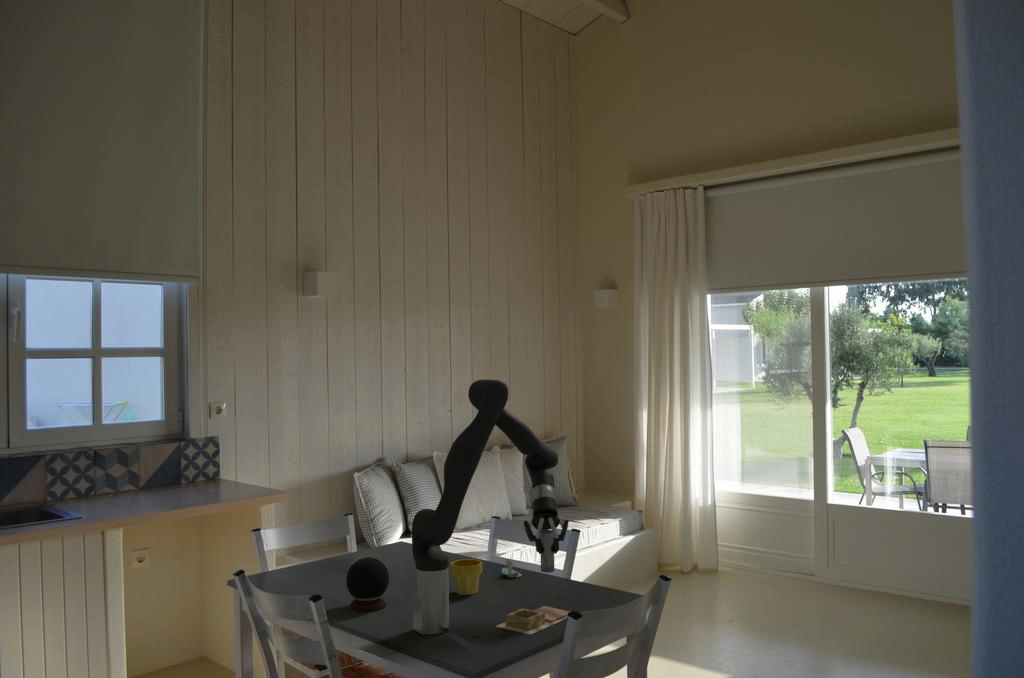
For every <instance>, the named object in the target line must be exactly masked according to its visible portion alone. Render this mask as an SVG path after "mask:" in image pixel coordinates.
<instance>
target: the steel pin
mask: <svg viewBox="0 0 1024 678" xmlns="http://www.w3.org/2000/svg"><path fill="white" fill-rule="evenodd" d="M540 540H541V554H540V572H542V573H553V572H555V554H554V529H553V528H541V529H540Z"/></svg>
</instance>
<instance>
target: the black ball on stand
mask: <svg viewBox="0 0 1024 678" xmlns="http://www.w3.org/2000/svg"><path fill="white" fill-rule="evenodd" d="M345 576H346V579H345V583H346V588H347V590H348V592H349V594H350V595H351V596H352V597H353V598H354V599H353V600H352V601H351V602H350V603H349V607H348V608H350V609H351V610H350V609H349V610H350V611H352V610H353V611H352V612H355V611H357V612H356V613H373V611H374V612H378V611H381V610H384V609H386V607H387V602H386V601H385V599H383V598H382V596H384V594H385V593H386V591H387V589H388V587H389V584H390V573H389V569H388V568H387V565H385V564H384V562H382V561H381V560H379V558H378V559H377V558H376V557H369V556H368V557H363V558H362V557H361V558H359V559H358V560H356V561H354V563H352V565H350V567H349V569H348V570H347V573H346V575H345Z"/></svg>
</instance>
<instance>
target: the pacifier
mask: <svg viewBox="0 0 1024 678" xmlns="http://www.w3.org/2000/svg"><path fill="white" fill-rule="evenodd" d="M505 563H506V566H507V567H503V568H502V569H501V573H502V574H503V575H504V576H506V577H507V578H520V577H522V574H521V573H520V572H519V571H517V570H515V569H513V567H514V565H513V561H512V560H511V559H510V558H507V560H506V562H505Z"/></svg>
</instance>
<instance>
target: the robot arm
mask: <svg viewBox="0 0 1024 678" xmlns="http://www.w3.org/2000/svg"><path fill="white" fill-rule="evenodd" d="M467 396H468V400H469V402H470V404H471V405H472V406H473V408H475V409H476V410H477V413H476V415H475V417H474V419H473V420H472V421H471V422H470V424H468V426H467V427H466V428H465V429H464V430H463V431H462V432H461V433H460V434H459V435H458V436H457V437H456V438H455V440H454V441H453V443H452V445H451V447H450V448H449V451H448V454H447V456H446V457H445V461H444V463H443V464H444V465H443V490H442V491H443V492H442V495H441V498H440V500H439V503H438V504H437V506H436V509H432V508H423V509H421V510H418V511H417V512H416V514H415V515H414V517H413V519H412V523H411V546H412V548H411V549H412V558H413V560H414V562H415V594H413V597H412V611H413V612H412V613H413V614H412V616H413V617H412V625H413V626H412V628H413V630H414V631H416V632H417V633H419V634H421V636H424V635H425V636H426V635H438V634H443V633H445V632H448V631H449V629H447V628H448V627H449V626H450V600H449V598H450V596H449V593H450V590H449V589H450V588H449V586H450V585H449V582H450V581H449V579H450V577H449V575H450V574H449V568H450V567H449V566H450V564H449V563H450V562H449V558H448V556H447V554H446V553H445V552H444V551H443V549H442V548H441V546H442V545H445V544H446V543H448V542H449V541H450V539H451V537H452V536H453V534H454V531H455V528H456V525H457V523H458V519H459V516H460V512H461V508H462V505H463V502H464V500H465V497H466V494H467V491H468V489H469V486H470V484H471V482H472V479H473V478H474V475H475V472H476V470H477V468H478V465H479V463H480V461H481V458H482V456H483V452H484V450H485V448H486V446H487V444H488V441H489V439H490V436H491V434H492V432H493V430H494V427H495V426H496V427H497V428H498V429H499V430H500V431H501V433H503V434H504V435H505V436H506V437H507V438H508V439H509V441H510V442H511V443H512V445H513V446H514V447H516V449H517V450H518V451H519V452H520V453H521V454H522V455H524V456H525V455H526V457H525V459H524V464H525V467H526V469H527V471H528V474H529V477H530V481H531V492H532V493H531V504H532V507H531V508H532V518H531V520H529V521H527V520H523V529H524V531H525V533H526V536H527V538H528V540H529V542H534V543H535V550H536V551H535V552H536V553H538V555H541V540H540V529H541V528H553V529H554V555H556V554H557V553H558V552H560V551H559V550H560V543H559V542H563V541H565V538H566V534H567V532H568V529H569V520H568V519H565V520H562V519H560V517H559V514H558V500H557V494H556V488H555V487H556V486H555V478H554V475H553V474H552V473H551V472H550V471H548V470H551V469H553V468H555V467H556V466H557V465H558V463H559V456H558V453H557V452H556V450H555V449H554V448H553V447H552V446H551V445H549V444H548V443H547V442H545V441H544V440H542V439H540V438H539V437H538V436H537V435H536V434H535V433H534V432H533V430H532V429H531V428H530V427H529V426H528V425H527V424H526V423H525V422H524V421H523V420H521V419H520V418H518V416H516V415H514V414H513V413H512V412H510V411H509V410H508V409H506V405H507V402H508V399H509V388H508V385H507V384H506V382H504V381H502V380H500V379H478V380H474V381H473V382H472V383H471V384H470V385H469V389H468V395H467ZM559 525H560V528H561V532H560V534H558V532H557V531H558V530H557V528H558V527H559ZM532 526H533V528H534V529H536V535H535V534H534V532H533V530H532Z"/></svg>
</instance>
